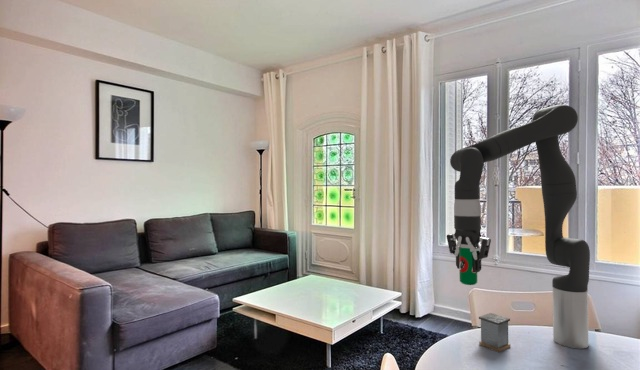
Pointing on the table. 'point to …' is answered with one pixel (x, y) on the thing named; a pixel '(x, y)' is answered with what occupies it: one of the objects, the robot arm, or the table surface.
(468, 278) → the soda can
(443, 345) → the table surface
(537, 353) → the table surface
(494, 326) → the service unit
